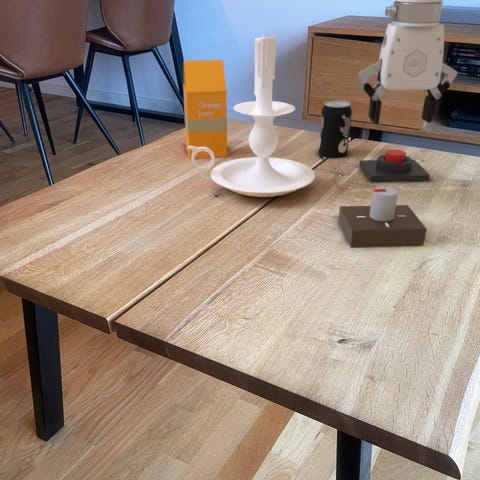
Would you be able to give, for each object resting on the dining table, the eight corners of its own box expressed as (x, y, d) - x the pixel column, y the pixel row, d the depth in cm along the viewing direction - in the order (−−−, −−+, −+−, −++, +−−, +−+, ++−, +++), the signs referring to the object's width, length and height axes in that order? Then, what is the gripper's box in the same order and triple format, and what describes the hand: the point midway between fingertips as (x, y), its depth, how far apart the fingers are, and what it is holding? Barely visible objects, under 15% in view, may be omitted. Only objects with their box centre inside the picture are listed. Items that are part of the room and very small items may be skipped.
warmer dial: (390, 211, 94) (394, 184, 91) (396, 221, 91) (401, 193, 88) (366, 212, 94) (370, 184, 91) (372, 221, 90) (376, 193, 88)
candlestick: (192, 172, 119) (185, 26, 104) (306, 171, 120) (317, 25, 104) (187, 209, 102) (178, 41, 87) (320, 208, 103) (335, 40, 87)
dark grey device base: (412, 169, 121) (415, 151, 119) (427, 185, 113) (431, 166, 111) (358, 170, 121) (360, 152, 118) (369, 186, 112) (372, 167, 110)
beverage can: (330, 163, 124) (336, 108, 117) (312, 156, 129) (316, 102, 122) (352, 158, 127) (359, 104, 120) (333, 151, 132) (338, 98, 125)
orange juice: (186, 148, 133) (181, 57, 122) (222, 146, 134) (221, 56, 123) (189, 159, 127) (184, 64, 116) (227, 156, 128) (226, 62, 117)
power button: (401, 157, 116) (402, 149, 115) (407, 163, 113) (408, 155, 112) (382, 157, 116) (383, 149, 115) (387, 164, 113) (389, 155, 112)
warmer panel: (404, 220, 98) (407, 203, 97) (423, 245, 90) (427, 227, 88) (338, 222, 98) (339, 205, 96) (350, 247, 89) (352, 229, 88)
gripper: (371, 17, 87) (358, 128, 97) (477, 16, 89) (454, 125, 98) (359, 12, 94) (348, 117, 103) (458, 11, 95) (438, 115, 104)
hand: (400, 121), depth 101 cm, fingers open, 9 cm apart
